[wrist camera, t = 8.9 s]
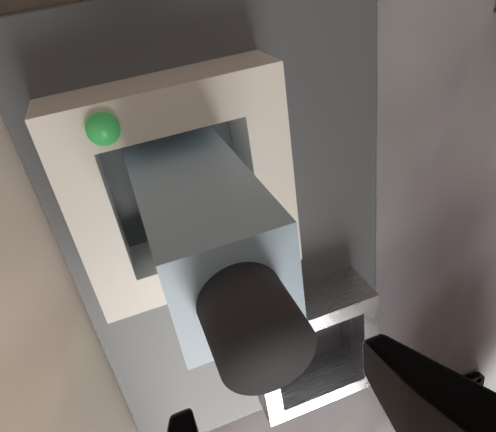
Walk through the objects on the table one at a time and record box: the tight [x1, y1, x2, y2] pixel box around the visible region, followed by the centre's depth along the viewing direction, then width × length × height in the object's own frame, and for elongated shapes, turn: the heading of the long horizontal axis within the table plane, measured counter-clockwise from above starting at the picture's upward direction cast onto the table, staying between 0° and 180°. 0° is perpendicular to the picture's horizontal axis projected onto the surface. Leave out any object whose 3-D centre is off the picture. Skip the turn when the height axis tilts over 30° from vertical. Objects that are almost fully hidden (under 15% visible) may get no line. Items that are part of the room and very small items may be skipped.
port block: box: [25, 50, 302, 324], centre depth 17 cm, size 8×8×3 cm
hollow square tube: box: [257, 266, 379, 427], centre depth 23 cm, size 6×6×2 cm
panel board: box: [0, 0, 377, 432], centre depth 21 cm, size 14×22×1 cm, turn 8°
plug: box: [121, 126, 317, 396], centre depth 14 cm, size 3×3×10 cm
